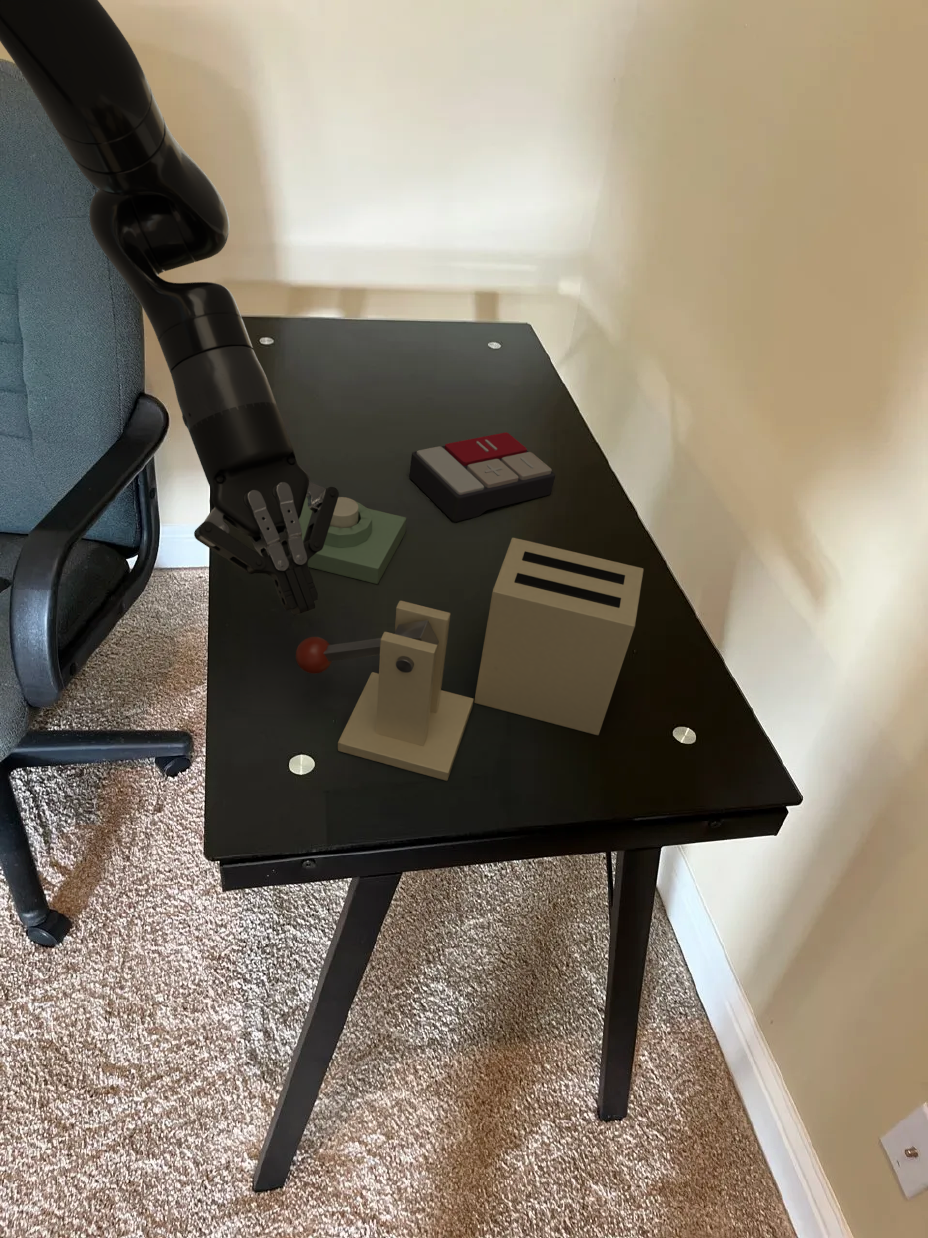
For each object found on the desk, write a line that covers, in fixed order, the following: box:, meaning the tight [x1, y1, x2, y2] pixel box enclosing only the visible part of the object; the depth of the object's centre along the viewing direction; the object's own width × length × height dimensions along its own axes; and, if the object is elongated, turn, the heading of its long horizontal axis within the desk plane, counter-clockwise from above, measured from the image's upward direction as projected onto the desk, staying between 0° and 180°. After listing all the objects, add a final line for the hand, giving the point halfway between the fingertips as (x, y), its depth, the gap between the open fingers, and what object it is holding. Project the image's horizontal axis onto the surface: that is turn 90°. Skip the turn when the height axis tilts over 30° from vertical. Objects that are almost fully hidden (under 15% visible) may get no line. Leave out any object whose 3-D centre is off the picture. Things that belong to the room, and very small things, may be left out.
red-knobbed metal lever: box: [295, 620, 439, 675], centre depth 70 cm, size 13×3×3 cm, turn 73°
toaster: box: [473, 537, 644, 736], centre depth 75 cm, size 12×8×14 cm, turn 76°
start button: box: [330, 496, 358, 528], centre depth 90 cm, size 4×4×2 cm
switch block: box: [299, 496, 407, 585], centre depth 92 cm, size 12×10×4 cm
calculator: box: [408, 432, 556, 523], centre depth 104 cm, size 11×4×15 cm
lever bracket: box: [337, 600, 475, 782], centre depth 71 cm, size 10×9×13 cm
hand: (304, 611), depth 70 cm, fingers closed
